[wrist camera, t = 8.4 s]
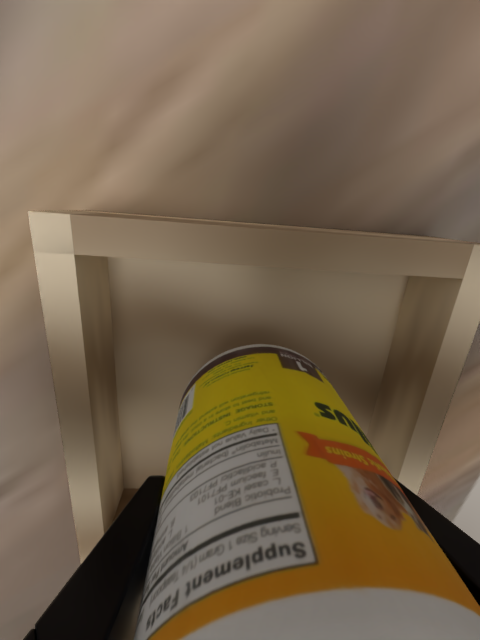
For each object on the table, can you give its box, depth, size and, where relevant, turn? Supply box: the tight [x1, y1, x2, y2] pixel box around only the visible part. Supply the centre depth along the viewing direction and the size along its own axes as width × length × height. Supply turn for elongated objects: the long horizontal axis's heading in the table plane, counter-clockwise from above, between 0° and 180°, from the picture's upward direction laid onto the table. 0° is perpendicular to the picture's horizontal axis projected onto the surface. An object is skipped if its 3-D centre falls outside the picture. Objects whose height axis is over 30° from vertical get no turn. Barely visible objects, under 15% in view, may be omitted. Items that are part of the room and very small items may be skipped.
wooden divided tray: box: [28, 210, 480, 564], centre depth 14 cm, size 25×13×4 cm, turn 176°
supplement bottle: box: [134, 344, 480, 640], centre depth 7 cm, size 6×6×10 cm
